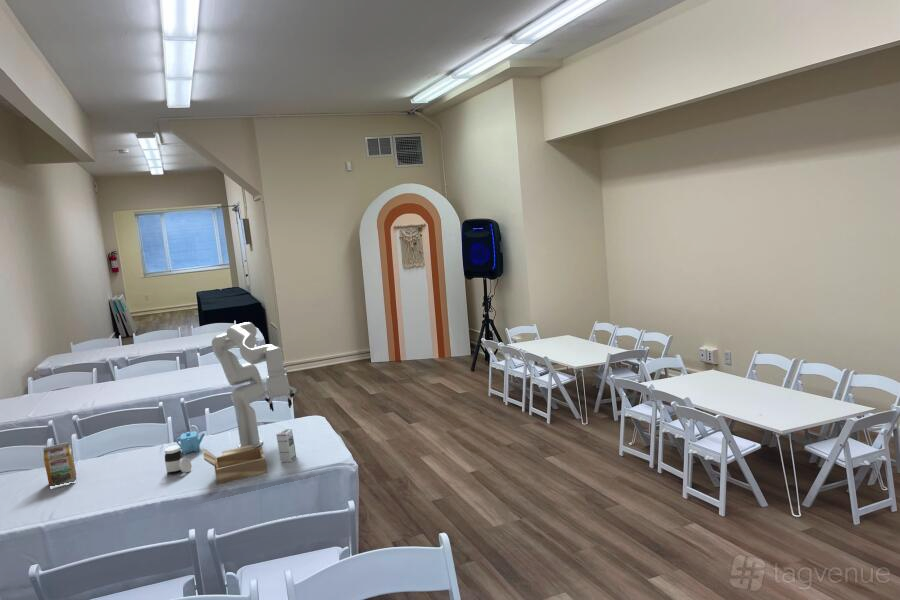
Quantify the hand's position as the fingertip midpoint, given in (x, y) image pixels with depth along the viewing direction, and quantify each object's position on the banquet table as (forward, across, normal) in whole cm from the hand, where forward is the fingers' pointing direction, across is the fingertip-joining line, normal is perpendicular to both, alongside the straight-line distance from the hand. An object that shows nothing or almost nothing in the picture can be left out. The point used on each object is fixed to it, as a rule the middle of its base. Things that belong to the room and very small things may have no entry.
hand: (281, 408), depth 309 cm
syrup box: (+26, 0, 0) cm, 26 cm away
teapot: (+26, +43, -42) cm, 66 cm away
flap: (+16, +34, +2) cm, 38 cm away
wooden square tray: (+26, +22, -1) cm, 34 cm away
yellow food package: (+26, +101, -36) cm, 110 cm away
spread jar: (+26, +49, -17) cm, 58 cm away
